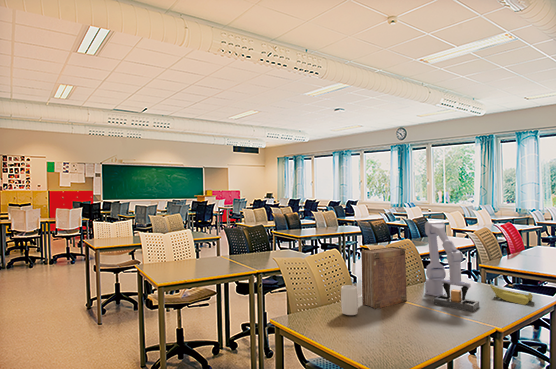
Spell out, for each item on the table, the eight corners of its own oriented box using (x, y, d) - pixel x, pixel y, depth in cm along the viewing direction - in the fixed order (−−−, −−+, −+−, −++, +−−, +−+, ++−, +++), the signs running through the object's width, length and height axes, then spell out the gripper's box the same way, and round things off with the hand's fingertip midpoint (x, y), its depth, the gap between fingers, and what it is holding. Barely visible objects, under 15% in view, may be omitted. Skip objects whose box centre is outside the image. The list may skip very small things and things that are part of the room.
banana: (533, 296, 203) (529, 292, 197) (531, 309, 201) (527, 305, 195) (494, 287, 217) (489, 283, 211) (491, 299, 216) (486, 295, 209)
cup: (358, 318, 182) (357, 289, 182) (341, 317, 183) (340, 289, 184) (358, 312, 190) (357, 285, 190) (341, 311, 192) (341, 284, 192)
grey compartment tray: (434, 303, 201) (433, 298, 201) (440, 299, 208) (440, 294, 208) (473, 311, 187) (473, 305, 187) (479, 307, 194) (479, 301, 194)
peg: (451, 305, 198) (450, 290, 198) (453, 303, 201) (453, 289, 201) (459, 307, 195) (458, 292, 195) (461, 305, 198) (461, 290, 198)
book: (374, 309, 194) (372, 253, 195) (362, 305, 202) (360, 251, 203) (406, 301, 207) (405, 248, 208) (394, 297, 215) (392, 246, 216)
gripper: (438, 273, 200) (439, 297, 200) (467, 276, 190) (468, 303, 190) (443, 270, 205) (444, 295, 205) (471, 274, 195) (472, 300, 195)
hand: (456, 298), depth 198 cm, fingers open, 7 cm apart
